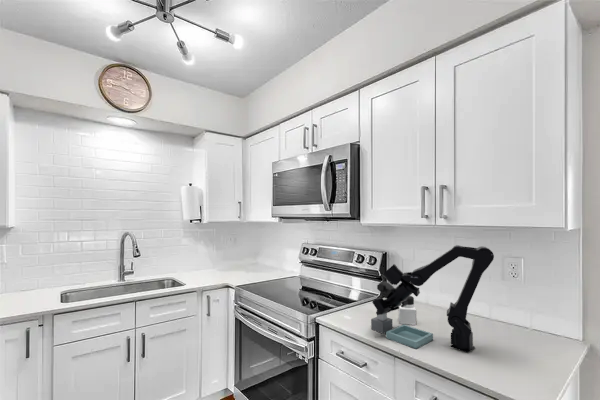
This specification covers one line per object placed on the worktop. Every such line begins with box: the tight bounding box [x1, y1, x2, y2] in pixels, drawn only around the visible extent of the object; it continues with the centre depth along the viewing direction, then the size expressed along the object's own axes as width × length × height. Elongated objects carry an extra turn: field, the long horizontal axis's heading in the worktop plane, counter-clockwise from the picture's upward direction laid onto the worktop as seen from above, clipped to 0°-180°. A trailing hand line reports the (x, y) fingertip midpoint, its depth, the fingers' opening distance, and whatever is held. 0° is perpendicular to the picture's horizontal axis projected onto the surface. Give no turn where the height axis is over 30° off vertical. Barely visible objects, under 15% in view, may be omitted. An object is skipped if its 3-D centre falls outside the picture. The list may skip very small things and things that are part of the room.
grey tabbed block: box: [370, 313, 394, 334], centre depth 132 cm, size 6×7×9 cm
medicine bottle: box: [397, 295, 417, 326], centre depth 141 cm, size 7×7×12 cm
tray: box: [385, 324, 434, 350], centre depth 122 cm, size 13×13×2 cm
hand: (379, 313), depth 133 cm, fingers closed on grey tabbed block, 3 cm apart
